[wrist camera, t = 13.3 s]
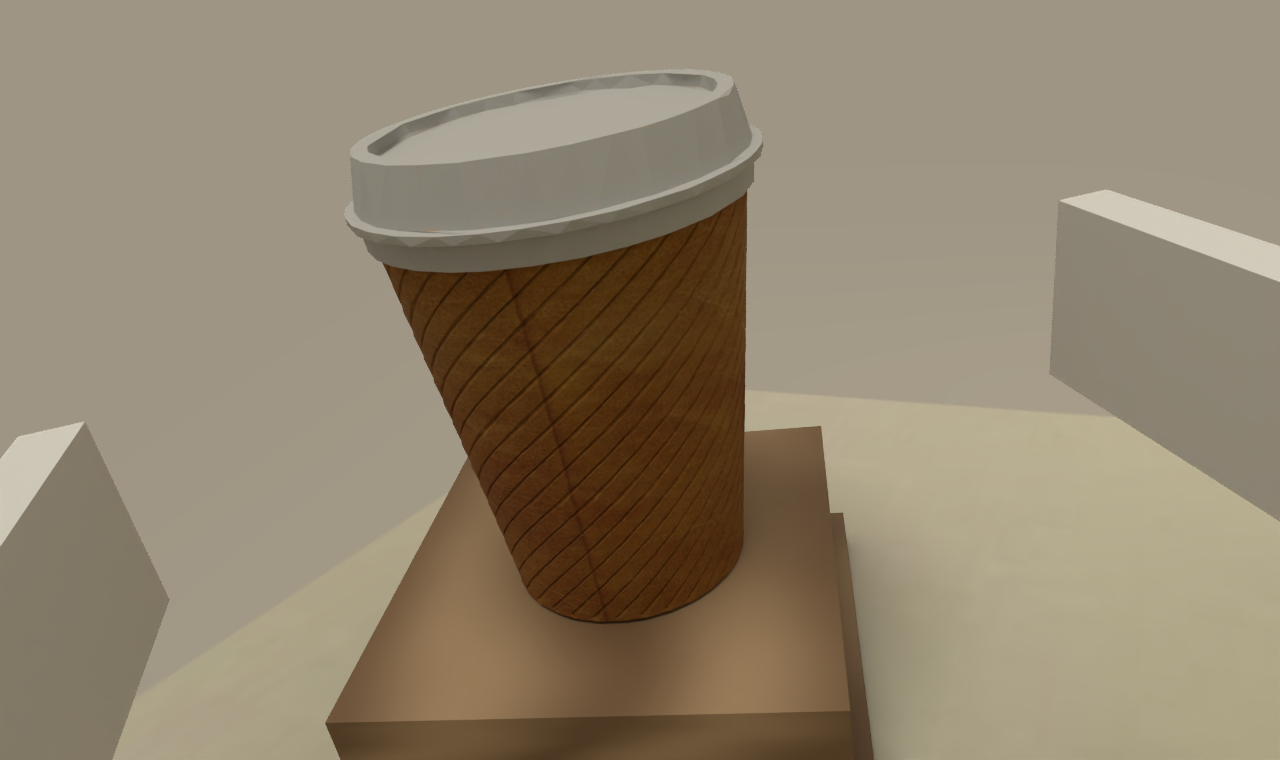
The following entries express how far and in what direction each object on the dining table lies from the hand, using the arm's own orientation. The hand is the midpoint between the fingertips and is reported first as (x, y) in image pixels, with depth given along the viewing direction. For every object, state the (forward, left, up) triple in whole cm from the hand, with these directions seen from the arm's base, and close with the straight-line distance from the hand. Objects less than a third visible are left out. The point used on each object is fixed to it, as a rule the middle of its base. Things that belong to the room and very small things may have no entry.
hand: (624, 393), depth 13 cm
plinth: (-3, +10, -15) cm, 18 cm away
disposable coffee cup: (-3, +10, -10) cm, 14 cm away
